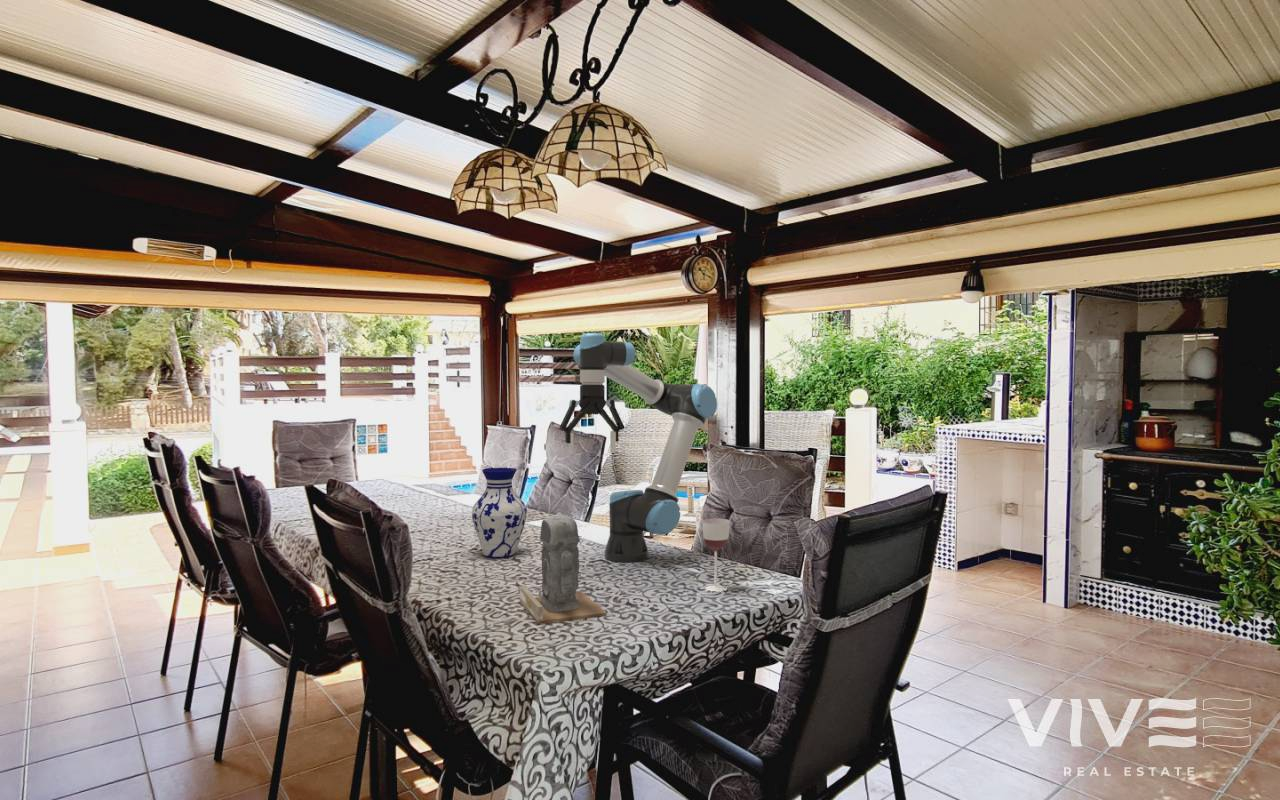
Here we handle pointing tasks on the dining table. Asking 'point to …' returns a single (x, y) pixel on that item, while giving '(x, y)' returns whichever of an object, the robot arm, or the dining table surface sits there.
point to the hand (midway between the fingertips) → (592, 453)
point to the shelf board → (543, 616)
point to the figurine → (559, 563)
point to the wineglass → (715, 541)
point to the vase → (499, 514)
